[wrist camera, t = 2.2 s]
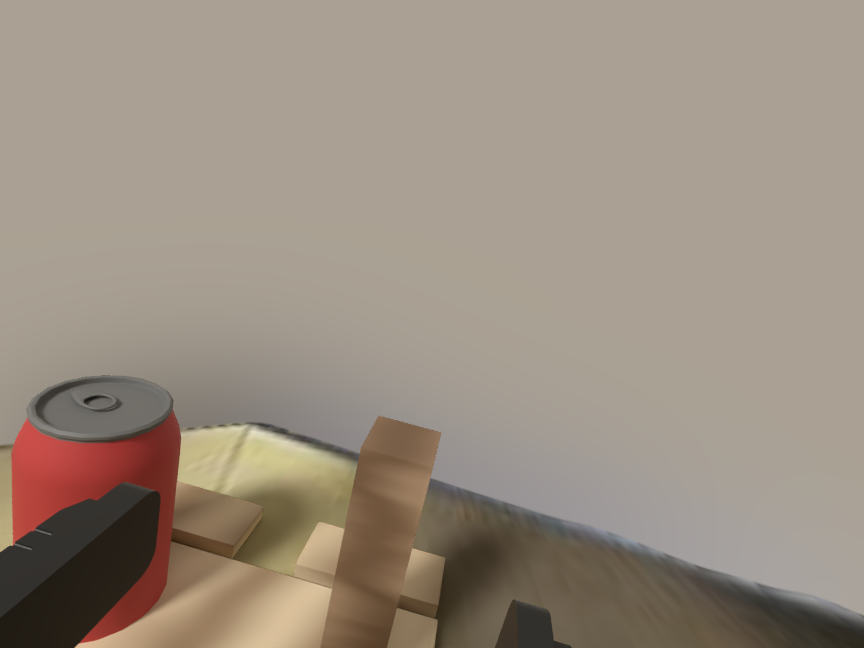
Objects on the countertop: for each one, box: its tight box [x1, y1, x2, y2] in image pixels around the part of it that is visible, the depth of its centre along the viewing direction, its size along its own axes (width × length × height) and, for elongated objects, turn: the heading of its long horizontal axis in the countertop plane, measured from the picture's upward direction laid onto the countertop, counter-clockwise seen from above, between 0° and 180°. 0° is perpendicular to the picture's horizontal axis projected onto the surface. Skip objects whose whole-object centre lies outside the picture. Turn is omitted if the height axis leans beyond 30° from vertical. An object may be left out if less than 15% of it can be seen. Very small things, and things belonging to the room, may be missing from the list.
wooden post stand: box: [75, 416, 441, 648], centre depth 23 cm, size 22×8×14 cm, turn 82°
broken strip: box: [171, 481, 445, 618], centre depth 32 cm, size 22×4×1 cm, turn 82°
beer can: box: [12, 375, 181, 644], centre depth 24 cm, size 7×7×12 cm
